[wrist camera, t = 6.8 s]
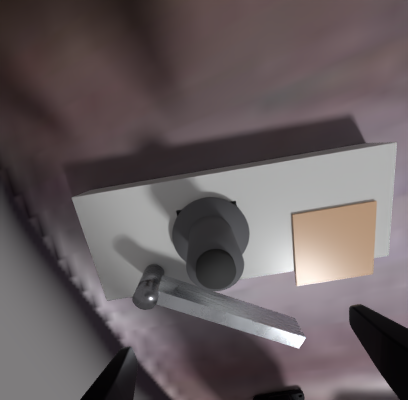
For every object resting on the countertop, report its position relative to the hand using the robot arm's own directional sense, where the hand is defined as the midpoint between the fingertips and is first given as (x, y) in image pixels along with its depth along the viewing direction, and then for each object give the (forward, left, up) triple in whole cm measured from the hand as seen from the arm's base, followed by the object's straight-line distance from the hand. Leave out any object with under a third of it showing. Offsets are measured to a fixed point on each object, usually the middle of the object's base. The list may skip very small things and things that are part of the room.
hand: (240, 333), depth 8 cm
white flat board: (0, -2, -13) cm, 13 cm away
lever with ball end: (-6, +1, -9) cm, 11 cm away
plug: (0, +1, -13) cm, 13 cm away
